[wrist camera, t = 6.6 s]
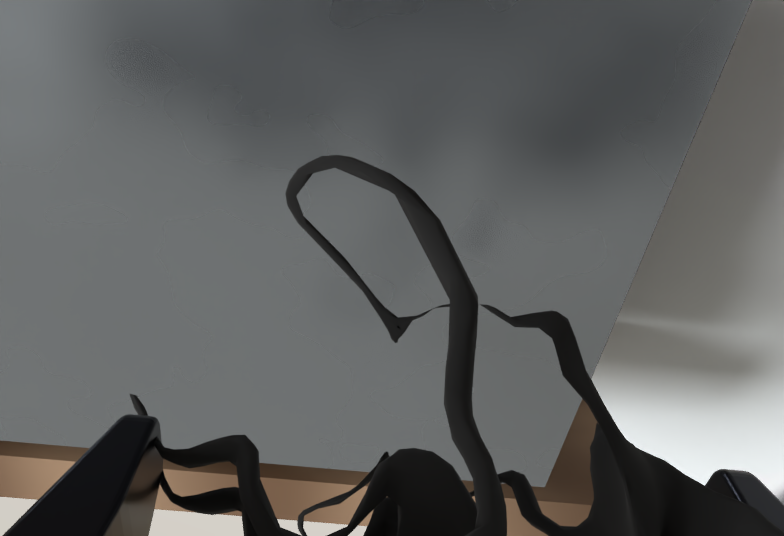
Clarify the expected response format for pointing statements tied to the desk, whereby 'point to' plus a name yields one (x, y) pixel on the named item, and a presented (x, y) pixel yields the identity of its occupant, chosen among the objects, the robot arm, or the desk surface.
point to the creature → (471, 433)
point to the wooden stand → (316, 482)
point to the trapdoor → (328, 211)
